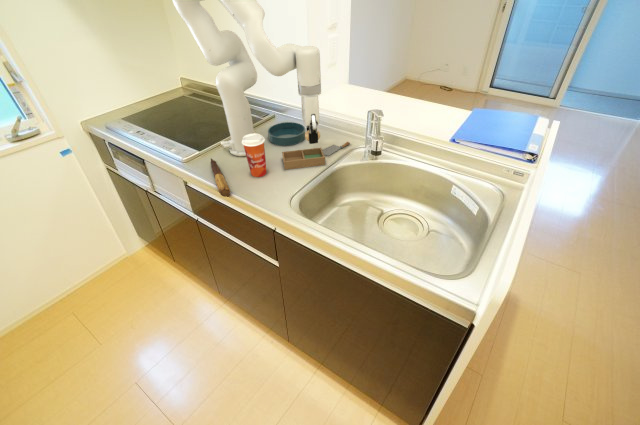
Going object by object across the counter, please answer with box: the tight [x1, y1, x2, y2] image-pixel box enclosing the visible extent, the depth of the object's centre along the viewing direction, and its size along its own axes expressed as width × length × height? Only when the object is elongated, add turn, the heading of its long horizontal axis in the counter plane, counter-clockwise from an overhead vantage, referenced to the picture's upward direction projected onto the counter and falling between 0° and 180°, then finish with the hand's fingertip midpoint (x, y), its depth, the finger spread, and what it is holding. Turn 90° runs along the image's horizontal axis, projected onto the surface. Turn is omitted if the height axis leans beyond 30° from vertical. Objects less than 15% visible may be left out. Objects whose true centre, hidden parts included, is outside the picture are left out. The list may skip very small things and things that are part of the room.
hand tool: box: [210, 158, 231, 198], centre depth 111 cm, size 4×26×3 cm, turn 25°
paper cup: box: [242, 132, 267, 178], centre depth 110 cm, size 8×8×14 cm
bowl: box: [267, 121, 306, 147], centre depth 136 cm, size 16×16×4 cm
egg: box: [305, 129, 321, 142], centre depth 114 cm, size 6×4×4 cm
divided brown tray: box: [281, 147, 326, 171], centre depth 119 cm, size 15×8×3 cm, turn 100°
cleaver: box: [322, 141, 350, 157], centre depth 128 cm, size 13×1×5 cm
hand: (312, 139), depth 115 cm, fingers closed on egg, 4 cm apart
